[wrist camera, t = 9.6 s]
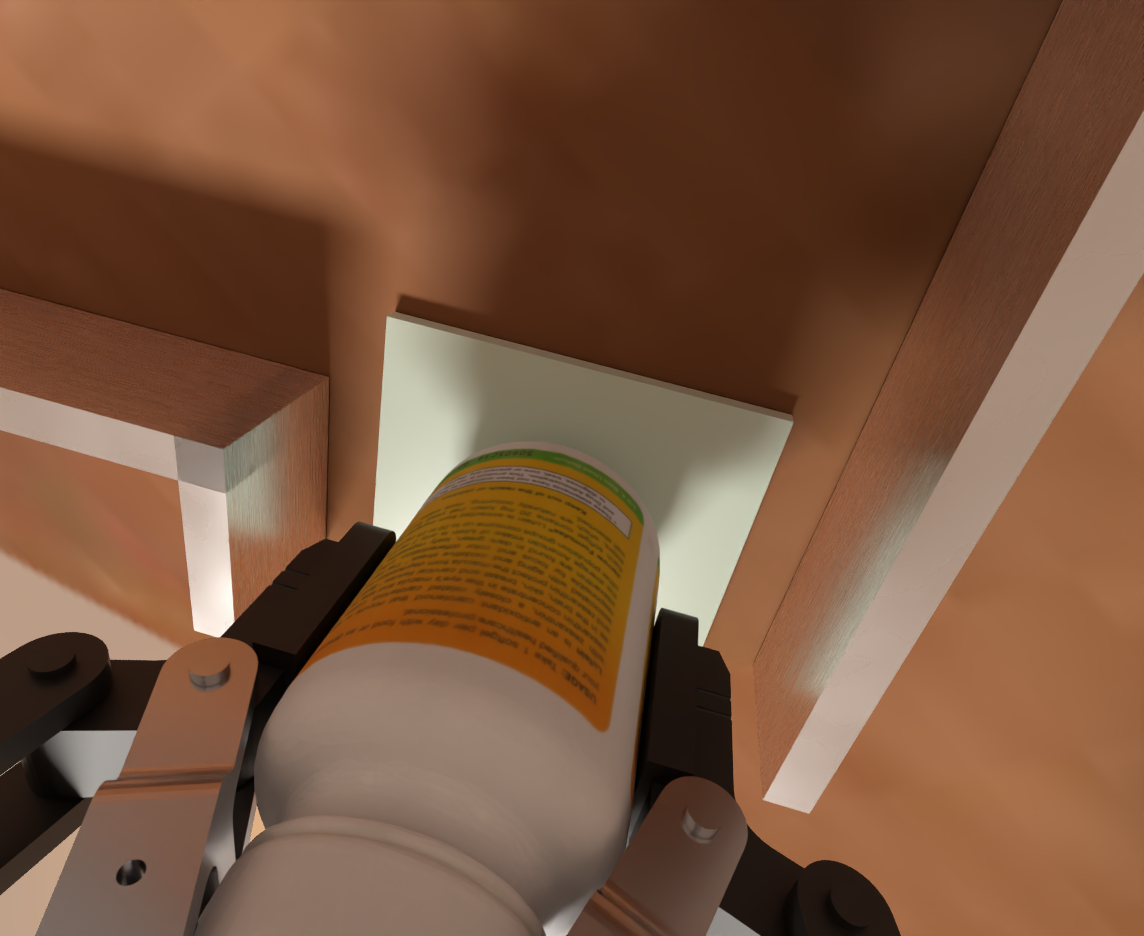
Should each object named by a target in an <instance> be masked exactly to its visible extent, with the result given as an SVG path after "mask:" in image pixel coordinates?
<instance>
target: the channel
mask: <svg viewBox="0 0 1144 936" xmlns="http://www.w3.org/2000/svg"><path fill="white" fill-rule="evenodd" d="M1143 273H1144V0H1062V3H1061V5H1060V7H1059V9H1058V11H1057V13H1056V15H1055V18H1054V20H1053V22H1052V24H1051V26H1050V28H1049V30H1048V33H1047V35H1046V37H1045V39H1044V41H1043V43H1042V46H1041V48H1040V50H1039V52H1038V54H1037V56H1036V58H1035V61H1034V63H1033V65H1032V67H1031V69H1030V71H1029V73H1028V76H1027V78H1026V80H1025V82H1024V84H1023V86H1022V88H1021V91H1020V93H1019V95H1018V97H1017V99H1016V101H1015V103H1014V106H1013V108H1012V110H1011V112H1010V114H1009V116H1008V119H1007V121H1006V123H1005V125H1004V127H1003V129H1002V131H1001V134H1000V136H999V138H998V140H997V142H996V144H995V146H994V149H993V151H992V153H991V155H990V157H989V159H988V161H987V164H986V166H985V168H984V170H983V172H982V174H981V176H980V179H979V181H978V183H977V185H976V187H975V189H974V192H973V194H972V196H971V198H970V200H969V202H968V204H967V207H966V209H965V211H964V213H963V215H962V217H961V219H960V222H959V224H958V226H957V228H956V230H955V232H954V234H953V237H952V239H951V241H950V243H949V245H948V247H947V249H946V252H945V254H944V256H943V258H942V260H941V262H940V265H939V267H938V269H937V271H936V273H935V275H934V277H933V280H932V282H931V284H930V286H929V288H928V290H927V292H926V295H925V297H924V299H923V301H922V303H921V305H920V307H919V310H918V312H917V314H916V316H915V318H914V320H913V323H912V325H911V327H910V329H909V331H908V333H907V335H906V338H905V340H904V342H903V344H902V346H901V348H900V350H899V353H898V355H897V357H896V359H895V361H894V363H893V365H892V368H891V370H890V372H889V374H888V376H887V378H886V380H885V383H884V385H883V387H882V389H881V391H880V393H879V396H878V398H877V400H876V402H875V404H874V406H873V408H872V411H871V413H870V415H869V417H868V419H867V421H866V423H865V426H864V428H863V430H862V432H861V434H860V436H859V438H858V441H857V443H856V445H855V447H854V449H853V451H852V453H851V456H850V458H849V460H848V462H847V464H846V466H845V469H844V471H843V473H842V475H841V477H840V479H839V481H838V484H837V486H836V488H835V490H834V492H833V494H832V496H831V499H830V501H829V503H828V505H827V507H826V509H825V511H824V514H823V516H822V518H821V520H820V522H819V524H818V526H817V529H816V531H815V533H814V535H813V537H812V539H811V542H810V544H809V546H808V548H807V550H806V552H805V554H804V557H803V559H802V561H801V563H800V565H799V567H798V569H797V572H796V574H795V576H794V578H793V580H792V582H791V584H790V587H789V589H788V591H787V593H786V595H785V597H784V599H783V602H782V604H781V606H780V608H779V610H778V612H777V615H776V617H775V619H774V621H773V623H772V625H771V627H770V630H769V632H768V634H767V636H766V638H765V640H764V642H763V645H762V647H761V649H760V651H759V653H758V655H757V657H756V660H755V662H754V664H753V674H754V687H755V701H756V714H757V728H758V741H759V755H760V768H761V782H762V795H763V800H765V801H768V802H772V803H775V804H778V805H782V806H785V807H789V808H792V809H795V810H799V811H802V812H805V813H809V814H810V812H811V810H812V809H813V807H814V805H815V804H816V802H817V801H818V799H819V797H820V796H821V794H822V793H823V791H824V789H825V788H826V786H827V784H828V783H829V781H830V780H831V778H832V776H833V775H834V773H835V771H836V770H837V768H838V767H839V765H840V763H841V762H842V760H843V759H844V757H845V755H846V754H847V752H848V750H849V749H850V747H851V746H852V744H853V742H854V741H855V739H856V738H857V736H858V734H859V733H860V731H861V729H862V728H863V726H864V725H865V723H866V721H867V720H868V718H869V716H870V715H871V713H872V712H873V710H874V708H875V707H876V705H877V704H878V702H879V700H880V699H881V697H882V695H883V694H884V692H885V691H886V689H887V687H888V686H889V684H890V683H891V681H892V679H893V678H894V676H895V674H896V673H897V671H898V670H899V668H900V666H901V665H902V663H903V661H904V660H905V658H906V657H907V655H908V653H909V652H910V650H911V649H912V647H913V645H914V644H915V642H916V640H917V639H918V637H919V636H920V634H921V632H922V631H923V629H924V628H925V626H926V624H927V623H928V621H929V619H930V618H931V616H932V615H933V613H934V611H935V610H936V608H937V606H938V605H939V603H940V602H941V600H942V598H943V597H944V595H945V594H946V592H947V590H948V589H949V587H950V585H951V584H952V582H953V581H954V579H955V577H956V576H957V574H958V573H959V571H960V569H961V568H962V566H963V564H964V563H965V561H966V560H967V558H968V556H969V555H970V553H971V551H972V550H973V548H974V547H975V545H976V543H977V542H978V540H979V539H980V537H981V535H982V534H983V532H984V530H985V529H986V527H987V526H988V524H989V522H990V521H991V519H992V518H993V516H994V514H995V513H996V511H997V509H998V508H999V506H1000V505H1001V503H1002V501H1003V500H1004V498H1005V496H1006V495H1007V493H1008V492H1009V490H1010V488H1011V487H1012V485H1013V484H1014V482H1015V480H1016V479H1017V477H1018V475H1019V474H1020V472H1021V471H1022V469H1023V467H1024V466H1025V464H1026V463H1027V461H1028V459H1029V458H1030V456H1031V454H1032V453H1033V451H1034V450H1035V448H1036V446H1037V445H1038V443H1039V441H1040V440H1041V438H1042V437H1043V435H1044V433H1045V432H1046V430H1047V429H1048V427H1049V425H1050V424H1051V422H1052V420H1053V419H1054V417H1055V416H1056V414H1057V412H1058V411H1059V409H1060V408H1061V406H1062V404H1063V403H1064V401H1065V399H1066V398H1067V396H1068V395H1069V393H1070V391H1071V390H1072V388H1073V386H1074V385H1075V383H1076V382H1077V380H1078V378H1079V377H1080V375H1081V374H1082V372H1083V370H1084V369H1085V367H1086V365H1087V364H1088V362H1089V361H1090V359H1091V357H1092V356H1093V354H1094V353H1095V351H1096V349H1097V348H1098V346H1099V344H1100V343H1101V341H1102V340H1103V338H1104V336H1105V335H1106V333H1107V331H1108V330H1109V328H1110V327H1111V325H1112V323H1113V322H1114V320H1115V319H1116V317H1117V315H1118V314H1119V312H1120V310H1121V309H1122V307H1123V306H1124V304H1125V302H1126V301H1127V299H1128V298H1129V296H1130V294H1131V293H1132V291H1133V289H1134V288H1135V286H1136V285H1137V283H1138V281H1139V280H1140V278H1141V276H1142V275H1143ZM328 412H329V377H328V376H324V375H320V374H317V373H313V372H309V371H306V370H302V369H298V368H294V367H291V366H287V365H283V364H279V363H276V362H272V361H268V360H265V359H261V358H257V357H253V356H250V355H246V354H242V353H238V352H235V351H231V350H227V349H224V348H220V347H216V346H212V345H209V344H205V343H201V342H197V341H194V340H190V339H186V338H183V337H179V336H175V335H171V334H168V333H164V332H160V331H156V330H153V329H149V328H145V327H142V326H138V325H134V324H130V323H127V322H123V321H119V320H115V319H112V318H108V317H104V316H100V315H97V314H93V313H89V312H86V311H82V310H78V309H74V308H71V307H67V306H63V305H59V304H56V303H52V302H48V301H45V300H41V299H37V298H33V297H30V296H26V295H22V294H18V293H15V292H11V291H7V290H4V289H0V430H2V431H6V432H9V433H13V434H16V435H20V436H24V437H27V438H31V439H34V440H38V441H41V442H45V443H48V444H52V445H55V446H59V447H62V448H66V449H69V450H73V451H77V452H80V453H84V454H87V455H91V456H94V457H98V458H101V459H105V460H108V461H112V462H115V463H119V464H122V465H126V466H130V467H133V468H137V469H140V470H144V471H147V472H151V473H154V474H158V475H161V476H165V477H168V478H172V479H175V480H178V482H179V491H180V501H181V510H182V520H183V529H184V539H185V548H186V558H187V567H188V577H189V586H190V596H191V605H192V615H193V624H194V630H195V631H198V632H201V633H205V634H208V635H211V636H215V637H218V638H219V637H221V636H222V635H223V634H224V633H225V631H226V630H227V629H228V628H229V627H230V626H231V625H232V624H233V623H234V622H235V621H236V620H237V619H238V618H239V617H240V615H241V614H242V613H243V612H244V611H245V610H246V609H247V608H248V607H249V606H250V605H251V604H252V603H253V602H254V601H255V599H256V598H257V597H258V596H259V595H260V594H261V593H262V592H263V591H264V590H265V589H266V588H267V587H268V586H269V585H272V581H273V580H274V579H275V578H276V577H277V576H278V575H279V574H280V573H281V572H282V571H285V568H286V566H287V565H288V564H289V563H290V562H291V561H292V560H293V559H294V558H295V557H296V556H297V555H298V554H299V553H300V552H301V551H302V550H304V549H306V548H308V547H310V546H311V545H313V544H315V543H317V542H319V541H321V540H323V539H326V498H327V455H328Z"/></svg>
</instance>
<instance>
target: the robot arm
mask: <svg viewBox="0 0 1144 936" xmlns="http://www.w3.org/2000/svg"><path fill="white" fill-rule="evenodd" d="M395 543H396V533H395V532H394V531H391V530H388V529H384V528H381V527H377V526H373V525H370V524H366V523H363V522H357V523H355V524H354V525H353V526H352V528H351V529H350V530H349V531H348V532H347V533H346V534H345V536H344V537H343V538H342V539H341V540H340V541H339V542H335V541H332V540H328V539H323V540H321V541H319V542H317V543H315V544H313V545H311V546H310V547H308V548H306V549H304V550H302V551H301V552H300V553H299V554H298V555H297V556H296V557H295V558H294V559H293V560H292V561H291V562H290V563H289V564H288V565H287V566H286V568H285V571H282V572H281V573H280V574H279V575H278V576H277V577H276V578H275V579H274V580H273V581H272V585H269V586H268V587H267V588H266V589H265V590H264V591H263V592H262V593H261V594H260V595H259V596H258V597H257V598H256V599H255V601H254V602H253V603H252V604H251V605H250V606H249V607H248V608H247V609H246V610H245V611H244V612H243V613H242V614H241V615H240V617H239V618H238V619H237V620H236V621H235V622H234V623H233V624H232V625H231V626H230V627H229V628H228V629H227V630H226V631H225V633H224V634H223V635H222V636H221V637H219V638H209V639H203V640H200V641H196V642H194V643H191V644H189V645H187V646H185V647H183V648H181V649H179V650H178V651H177V652H175V653H174V654H173V655H172V656H171V657H170V658H169V659H168V660H158V661H147V660H110V658H109V653H108V649H107V647H106V645H105V644H104V642H103V641H102V640H100V639H99V638H97V637H95V636H93V635H89V634H86V633H78V632H66V633H57V634H52V635H48V636H45V637H42V638H38V639H36V640H33V641H31V642H29V643H27V644H25V645H23V646H21V647H19V648H18V649H16V650H14V651H13V652H11V653H9V654H7V655H6V656H4V657H2V658H1V659H0V775H1V774H3V773H4V772H5V771H7V770H8V769H9V768H11V767H12V766H13V765H15V764H16V763H18V762H19V761H20V760H21V762H19V763H18V764H16V765H15V766H14V767H12V768H11V769H10V770H8V771H7V772H5V773H4V774H3V775H1V776H0V895H1V894H2V893H3V892H5V891H6V890H7V889H8V888H9V887H10V886H11V885H12V884H14V883H15V882H16V881H17V880H18V879H20V878H21V877H22V876H23V875H24V874H25V873H27V872H28V871H29V870H30V869H31V868H32V867H33V866H35V865H36V864H37V863H38V862H39V861H40V860H42V859H43V858H44V857H45V856H46V855H47V854H48V853H50V852H51V851H52V850H53V849H54V848H55V847H57V846H58V845H59V844H60V843H61V842H62V841H63V840H65V839H66V838H67V837H68V836H69V835H70V834H72V833H73V832H74V831H75V830H76V829H77V828H78V827H80V826H81V827H80V830H79V832H78V834H77V837H76V839H75V841H74V844H73V846H72V849H71V851H70V853H69V856H68V858H67V861H66V863H65V865H64V868H63V870H62V873H61V875H60V877H59V880H58V882H57V885H56V887H55V889H54V892H53V894H52V897H51V899H50V901H49V904H48V906H47V909H46V911H45V914H44V916H43V918H42V921H41V923H40V925H39V928H38V930H37V933H36V935H35V936H194V934H195V931H196V928H197V926H198V922H197V921H198V919H199V917H200V916H201V914H202V912H203V911H204V909H205V907H206V906H207V904H208V902H209V901H210V899H211V898H212V896H213V894H214V893H215V891H216V889H217V888H218V886H219V885H220V883H221V881H222V880H223V878H224V877H225V875H226V873H227V872H228V870H229V869H230V868H231V866H232V865H233V864H234V863H235V862H236V860H237V859H238V858H240V857H241V855H242V853H243V851H244V849H245V848H246V846H247V845H248V844H249V841H250V836H251V831H252V826H253V821H254V816H255V811H256V806H257V802H256V796H255V789H254V764H255V759H256V754H257V749H258V744H259V741H260V738H261V735H262V732H263V730H264V728H265V726H266V724H267V722H268V720H269V718H270V716H271V714H272V713H273V711H274V709H275V707H276V706H277V704H278V703H279V701H280V700H281V698H282V697H283V695H284V694H285V692H286V690H287V689H288V687H289V686H290V685H291V683H292V682H293V680H294V679H295V678H296V676H297V675H298V674H299V672H300V671H301V670H302V668H303V667H304V666H305V664H306V663H307V662H308V660H309V659H310V658H311V656H312V655H313V654H314V652H315V651H316V650H317V648H318V647H319V646H320V644H321V643H322V642H323V640H324V639H325V638H326V636H327V635H328V634H329V632H330V631H331V629H332V628H333V627H334V625H335V624H336V623H337V621H338V620H339V619H340V617H341V616H342V615H343V613H344V612H345V611H346V609H347V608H348V607H349V605H350V604H351V603H352V601H353V600H354V599H355V597H356V596H357V595H358V593H359V592H360V591H361V589H362V588H363V586H364V585H365V584H366V582H367V581H368V580H369V578H370V577H371V576H372V574H373V573H374V571H375V570H376V569H377V567H378V566H379V565H380V563H381V562H382V561H383V559H384V558H385V556H386V555H387V553H388V552H389V551H390V549H391V548H392V547H393V546H394V544H395ZM698 631H699V620H698V618H697V617H694V616H690V615H687V614H683V613H680V612H676V611H673V610H669V609H665V608H661V609H660V611H659V613H658V616H657V619H656V622H655V624H654V629H653V637H652V645H651V654H650V662H649V670H648V678H647V687H646V695H645V703H644V711H643V719H642V727H641V736H640V744H639V753H638V761H637V770H636V780H635V789H634V799H633V808H632V815H631V822H630V827H629V832H628V838H627V843H626V849H625V852H624V853H623V855H622V856H621V858H620V860H619V861H618V863H617V865H616V866H615V868H614V869H613V871H612V873H611V874H610V876H609V877H608V879H607V881H606V882H605V884H604V885H603V886H602V888H601V889H597V890H596V891H595V893H594V894H593V895H592V896H591V898H590V899H589V901H588V902H587V904H586V905H585V907H584V908H583V910H582V912H581V913H580V915H579V916H578V918H577V920H576V921H575V923H574V924H573V926H572V928H571V929H570V931H569V932H568V934H567V935H566V936H901V935H900V932H899V930H898V927H897V925H896V922H895V919H894V917H893V914H892V912H891V910H890V908H889V906H888V904H887V903H886V901H885V899H884V898H883V896H882V895H881V894H880V892H879V891H878V890H877V889H876V887H875V886H874V885H873V884H872V883H871V882H870V881H869V880H868V879H866V878H865V877H864V876H863V875H862V874H860V873H859V872H857V871H856V870H854V869H853V868H851V867H849V866H847V865H845V864H842V863H839V862H835V861H830V860H821V861H816V862H814V863H811V864H809V865H808V866H807V867H806V868H805V869H804V868H803V867H801V866H799V865H798V864H796V863H795V862H793V861H792V860H790V859H788V858H787V857H785V856H784V855H782V854H781V853H779V852H777V851H776V850H774V849H773V848H771V847H770V846H769V845H767V844H766V843H764V842H763V841H762V840H761V839H760V838H759V837H758V836H757V835H756V834H755V833H754V832H753V831H752V830H751V829H750V827H749V826H748V825H747V823H746V819H745V817H744V814H743V812H742V810H741V808H740V807H739V805H738V803H737V802H736V800H735V796H734V783H733V751H732V720H731V701H730V698H731V686H730V673H729V671H728V669H727V667H726V665H725V663H724V661H723V659H722V657H721V655H720V653H719V651H716V650H712V649H709V648H705V647H702V646H698Z"/></svg>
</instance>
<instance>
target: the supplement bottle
mask: <svg viewBox="0 0 1144 936" xmlns="http://www.w3.org/2000/svg"><path fill="white" fill-rule="evenodd" d="M659 577H660V547H659V541H658V536H657V532H656V529H655V525H654V523H653V520H652V517H651V515H650V513H649V511H648V510H647V508H646V506H645V505H644V503H643V502H642V500H641V499H640V497H639V496H638V495H637V493H636V492H635V491H634V490H633V489H632V487H631V486H630V485H629V484H628V483H627V482H626V481H625V480H624V479H623V478H622V477H621V476H619V475H618V474H617V473H616V472H615V471H613V470H612V469H610V468H609V467H608V466H606V465H605V464H604V463H602V462H600V461H598V460H597V459H595V458H593V457H591V456H590V455H587V454H585V453H583V452H581V451H578V450H576V449H573V448H570V447H567V446H563V445H559V444H555V443H548V442H538V441H520V442H511V443H504V444H499V445H496V446H493V447H490V448H486V449H483V450H481V451H479V452H477V453H475V454H473V455H471V456H469V457H468V458H466V459H465V460H463V461H462V462H460V463H459V464H458V465H457V466H456V467H454V468H453V469H452V470H451V471H450V472H449V473H448V474H447V475H446V476H445V477H444V478H443V480H442V481H441V482H440V483H439V484H438V486H437V487H436V488H435V489H434V491H433V492H432V493H431V495H430V496H429V497H428V499H427V500H426V501H425V503H424V504H423V505H422V507H421V508H420V510H419V511H418V512H417V514H416V515H415V517H414V518H413V519H412V521H411V522H410V524H409V525H408V526H407V528H406V529H405V530H404V532H403V533H402V534H401V536H400V537H399V539H398V540H397V541H396V543H395V544H394V546H393V547H392V548H391V549H390V551H389V552H388V553H387V555H386V556H385V558H384V559H383V561H382V562H381V563H380V565H379V566H378V567H377V569H376V570H375V571H374V573H373V574H372V576H371V577H370V578H369V580H368V581H367V582H366V584H365V585H364V586H363V588H362V589H361V591H360V592H359V593H358V595H357V596H356V597H355V599H354V600H353V601H352V603H351V604H350V605H349V607H348V608H347V609H346V611H345V612H344V613H343V615H342V616H341V617H340V619H339V620H338V621H337V623H336V624H335V625H334V627H333V628H332V629H331V631H330V632H329V634H328V635H327V636H326V638H325V639H324V640H323V642H322V643H321V644H320V646H319V647H318V648H317V650H316V651H315V652H314V654H313V655H312V656H311V658H310V659H309V660H308V662H307V663H306V664H305V666H304V667H303V668H302V670H301V671H300V672H299V674H298V675H297V676H296V678H295V679H294V680H293V682H292V683H291V685H290V686H289V687H288V689H287V690H286V692H285V694H284V695H283V697H282V698H281V700H280V701H279V703H278V704H277V706H276V707H275V709H274V711H273V713H272V714H271V716H270V718H269V720H268V722H267V724H266V726H265V728H264V730H263V732H262V735H261V738H260V741H259V744H258V749H257V754H256V759H255V764H254V789H255V796H256V802H257V807H258V810H259V813H260V816H261V819H262V821H263V824H264V826H265V829H266V830H264V831H263V832H262V833H260V834H259V835H258V836H256V837H255V838H254V839H253V840H252V841H251V842H250V843H249V844H248V845H247V846H246V848H245V849H244V851H243V853H242V855H241V857H240V858H238V859H237V860H236V862H235V863H234V864H233V865H232V866H231V868H230V869H229V870H228V872H227V873H226V875H225V877H224V878H223V880H222V881H221V883H220V885H219V886H218V888H217V889H216V891H215V893H214V894H213V896H212V898H211V899H210V901H209V902H208V904H207V906H206V907H205V909H204V911H203V912H202V914H201V916H200V917H199V919H198V921H197V922H198V926H197V928H196V931H195V934H194V936H564V935H566V934H567V933H568V932H569V931H570V929H571V928H572V926H573V924H574V923H575V921H576V920H577V918H578V916H579V915H580V913H581V912H582V910H583V908H584V907H585V905H586V904H587V902H588V901H589V899H590V898H591V896H592V895H593V894H594V893H595V891H596V890H597V889H601V888H602V886H603V885H604V884H605V882H606V881H607V879H608V877H609V876H610V874H611V873H612V871H613V869H614V868H615V866H616V865H617V863H618V861H619V860H620V858H621V856H622V855H623V853H624V852H625V849H626V843H627V838H628V832H629V827H630V822H631V815H632V808H633V799H634V789H635V780H636V770H637V761H638V753H639V744H640V736H641V727H642V719H643V711H644V703H645V695H646V687H647V678H648V670H649V662H650V654H651V645H652V637H653V629H654V622H655V614H656V606H657V596H658V588H659Z"/></svg>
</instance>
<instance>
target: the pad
mask: <svg viewBox="0 0 1144 936" xmlns="http://www.w3.org/2000/svg"><path fill="white" fill-rule="evenodd" d="M793 423H794V421H793V418H792V415H790V414H787V413H783V412H779V411H775V410H771V409H767V408H763V407H760V406H756V405H752V404H748V403H744V402H740V401H737V400H733V399H729V398H725V397H721V396H717V395H713V394H710V393H706V392H702V391H698V390H694V389H690V388H687V387H683V386H679V385H675V384H671V383H667V382H663V381H660V380H656V379H652V378H648V377H644V376H640V375H636V374H633V373H629V372H625V371H621V370H617V369H613V368H610V367H606V366H602V365H598V364H594V363H590V362H586V361H583V360H579V359H575V358H571V357H567V356H563V355H560V354H556V353H552V352H548V351H544V350H540V349H536V348H533V347H529V346H525V345H521V344H517V343H513V342H509V341H506V340H502V339H498V338H494V337H490V336H486V335H483V334H479V333H475V332H471V331H467V330H463V329H459V328H456V327H452V326H448V325H444V324H440V323H436V322H433V321H429V320H425V319H421V318H417V317H413V316H409V315H406V314H402V313H398V312H393V313H391V314H390V315H388V316H387V322H386V338H385V353H384V368H383V383H382V398H381V414H380V429H379V444H378V459H377V474H376V490H375V505H374V520H373V526H377V527H381V528H384V529H388V530H391V531H394V532H395V533H396V541H397V540H398V539H399V537H400V536H401V534H402V533H403V532H404V530H405V529H406V528H407V526H408V525H409V524H410V522H411V521H412V519H413V518H414V517H415V515H416V514H417V512H418V511H419V510H420V508H421V507H422V505H423V504H424V503H425V501H426V500H427V499H428V497H429V496H430V495H431V493H432V492H433V491H434V489H435V488H436V487H437V486H438V484H439V483H440V482H441V481H442V480H443V478H444V477H445V476H446V475H447V474H448V473H449V472H450V471H451V470H452V469H453V468H454V467H456V466H457V465H458V464H459V463H460V462H462V461H463V460H465V459H466V458H468V457H469V456H471V455H473V454H475V453H477V452H479V451H481V450H483V449H486V448H490V447H493V446H496V445H499V444H504V443H511V442H520V441H538V442H548V443H555V444H559V445H563V446H567V447H570V448H573V449H576V450H578V451H581V452H583V453H585V454H587V455H590V456H591V457H593V458H595V459H597V460H598V461H600V462H602V463H604V464H605V465H606V466H608V467H609V468H610V469H612V470H613V471H615V472H616V473H617V474H618V475H619V476H621V477H622V478H623V479H624V480H625V481H626V482H627V483H628V484H629V485H630V486H631V487H632V489H633V490H634V491H635V492H636V493H637V495H638V496H639V497H640V499H641V500H642V502H643V503H644V505H645V506H646V508H647V510H648V511H649V513H650V515H651V517H652V520H653V523H654V525H655V529H656V532H657V536H658V541H659V547H660V577H659V588H658V596H657V606H656V614H655V622H656V619H657V616H658V613H659V611H660V609H661V608H665V609H669V610H673V611H676V612H680V613H683V614H687V615H690V616H694V617H697V618H698V620H699V631H698V646H702V647H703V644H704V642H705V639H706V637H707V635H708V632H709V630H710V627H711V625H712V622H713V620H714V617H715V615H716V612H717V610H718V607H719V605H720V603H721V600H722V598H723V595H724V593H725V590H726V588H727V585H728V583H729V580H730V578H731V575H732V573H733V571H734V568H735V566H736V563H737V561H738V558H739V556H740V553H741V551H742V548H743V546H744V543H745V541H746V539H747V536H748V534H749V531H750V529H751V526H752V524H753V521H754V519H755V516H756V514H757V511H758V509H759V507H760V504H761V502H762V499H763V497H764V494H765V492H766V489H767V487H768V484H769V482H770V479H771V477H772V475H773V472H774V470H775V467H776V465H777V462H778V460H779V457H780V455H781V452H782V450H783V447H784V445H785V443H786V440H787V438H788V435H789V433H790V430H791V428H792V425H793ZM655 622H654V624H655Z"/></svg>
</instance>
